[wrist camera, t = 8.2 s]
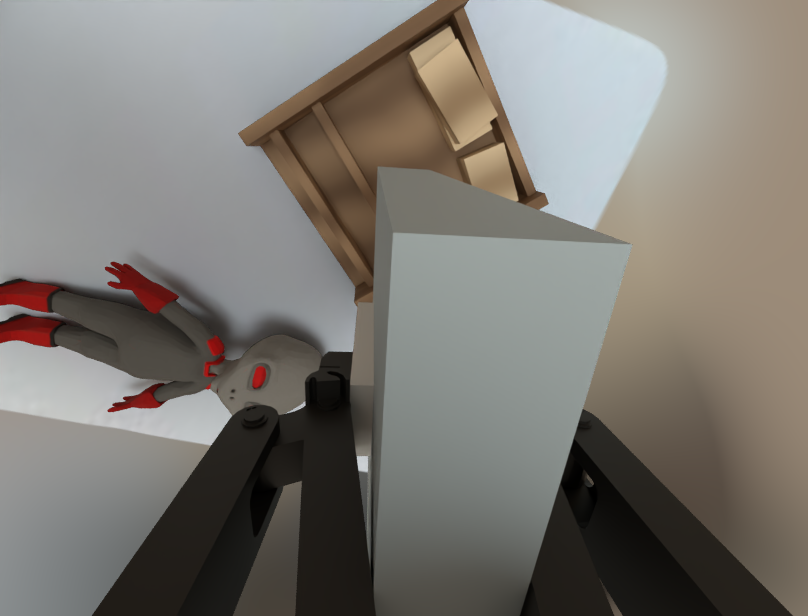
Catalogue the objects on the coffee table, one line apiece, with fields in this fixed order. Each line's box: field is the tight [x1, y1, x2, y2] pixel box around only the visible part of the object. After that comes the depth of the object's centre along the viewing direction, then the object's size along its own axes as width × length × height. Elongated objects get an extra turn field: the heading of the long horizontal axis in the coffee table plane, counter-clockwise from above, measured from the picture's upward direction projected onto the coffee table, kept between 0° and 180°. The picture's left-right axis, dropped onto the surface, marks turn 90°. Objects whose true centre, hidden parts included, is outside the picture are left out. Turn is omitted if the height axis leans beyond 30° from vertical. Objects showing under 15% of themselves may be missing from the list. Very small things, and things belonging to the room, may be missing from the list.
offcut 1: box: [407, 26, 492, 151], centre depth 31 cm, size 8×4×2 cm, turn 30°
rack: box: [238, 0, 549, 307], centre depth 32 cm, size 17×19×5 cm
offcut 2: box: [415, 38, 498, 144], centre depth 29 cm, size 6×4×2 cm, turn 35°
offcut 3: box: [456, 142, 519, 201], centre depth 33 cm, size 5×4×3 cm
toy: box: [0, 262, 322, 416], centre depth 37 cm, size 16×10×30 cm
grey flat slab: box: [367, 167, 632, 616], centre depth 14 cm, size 14×3×16 cm, turn 176°
